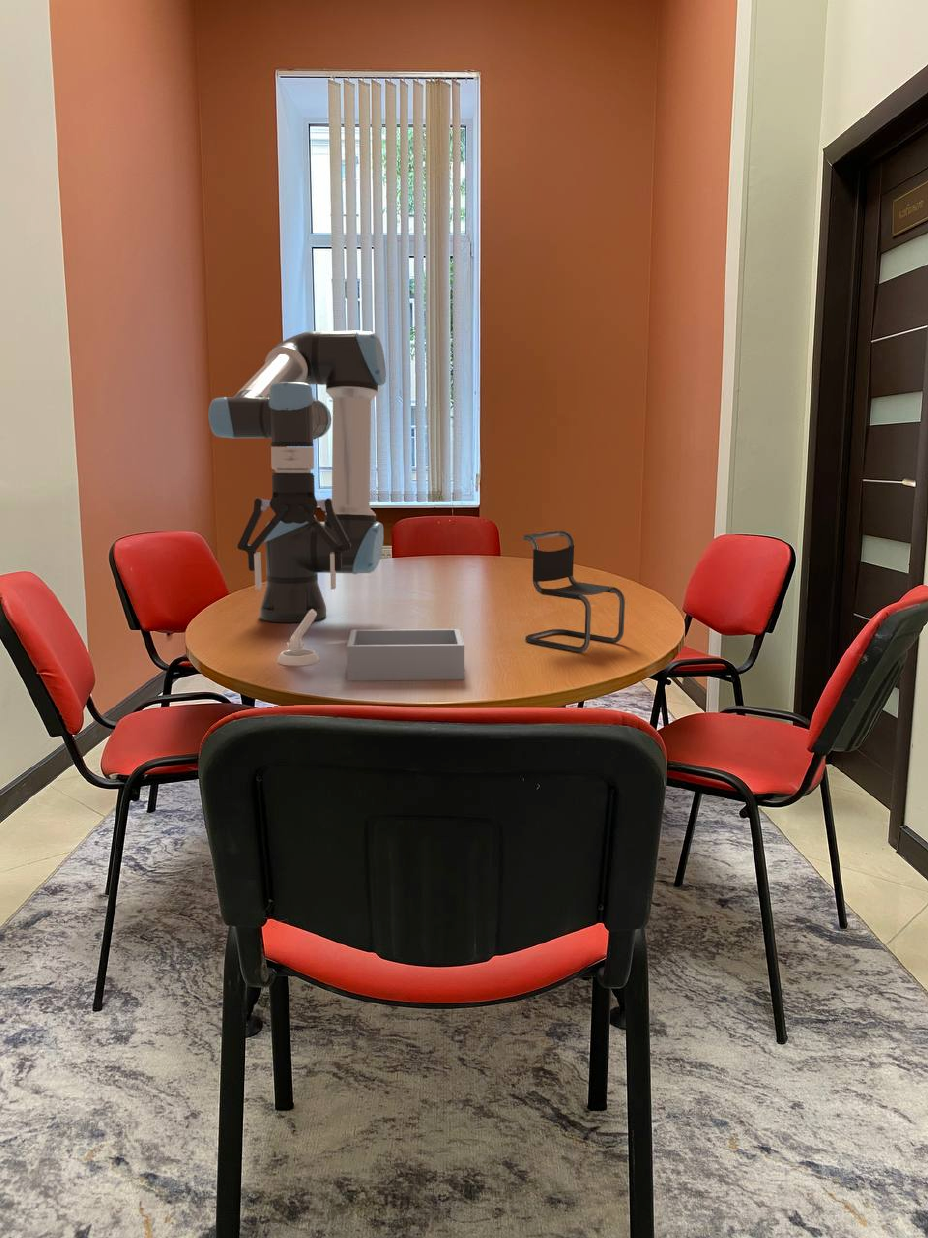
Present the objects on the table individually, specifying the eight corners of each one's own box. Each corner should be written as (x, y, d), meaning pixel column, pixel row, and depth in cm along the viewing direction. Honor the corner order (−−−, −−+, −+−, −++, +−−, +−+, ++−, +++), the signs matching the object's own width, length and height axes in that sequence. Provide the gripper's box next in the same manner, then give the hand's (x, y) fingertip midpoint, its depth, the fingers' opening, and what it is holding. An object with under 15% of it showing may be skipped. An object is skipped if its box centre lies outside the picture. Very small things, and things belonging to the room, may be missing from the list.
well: (352, 661, 169) (351, 629, 168) (459, 660, 170) (459, 628, 169) (347, 680, 155) (346, 646, 154) (464, 679, 157) (464, 645, 155)
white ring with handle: (341, 638, 164) (308, 618, 162) (304, 687, 168) (272, 668, 165) (342, 622, 171) (310, 602, 169) (307, 669, 174) (276, 651, 172)
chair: (556, 632, 196) (559, 530, 192) (624, 644, 185) (628, 536, 180) (517, 641, 187) (519, 534, 183) (587, 655, 175) (590, 541, 171)
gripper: (218, 471, 158) (223, 591, 162) (361, 472, 160) (363, 591, 164) (226, 470, 165) (230, 585, 169) (363, 471, 167) (365, 585, 171)
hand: (296, 588), depth 166 cm, fingers open, 13 cm apart
